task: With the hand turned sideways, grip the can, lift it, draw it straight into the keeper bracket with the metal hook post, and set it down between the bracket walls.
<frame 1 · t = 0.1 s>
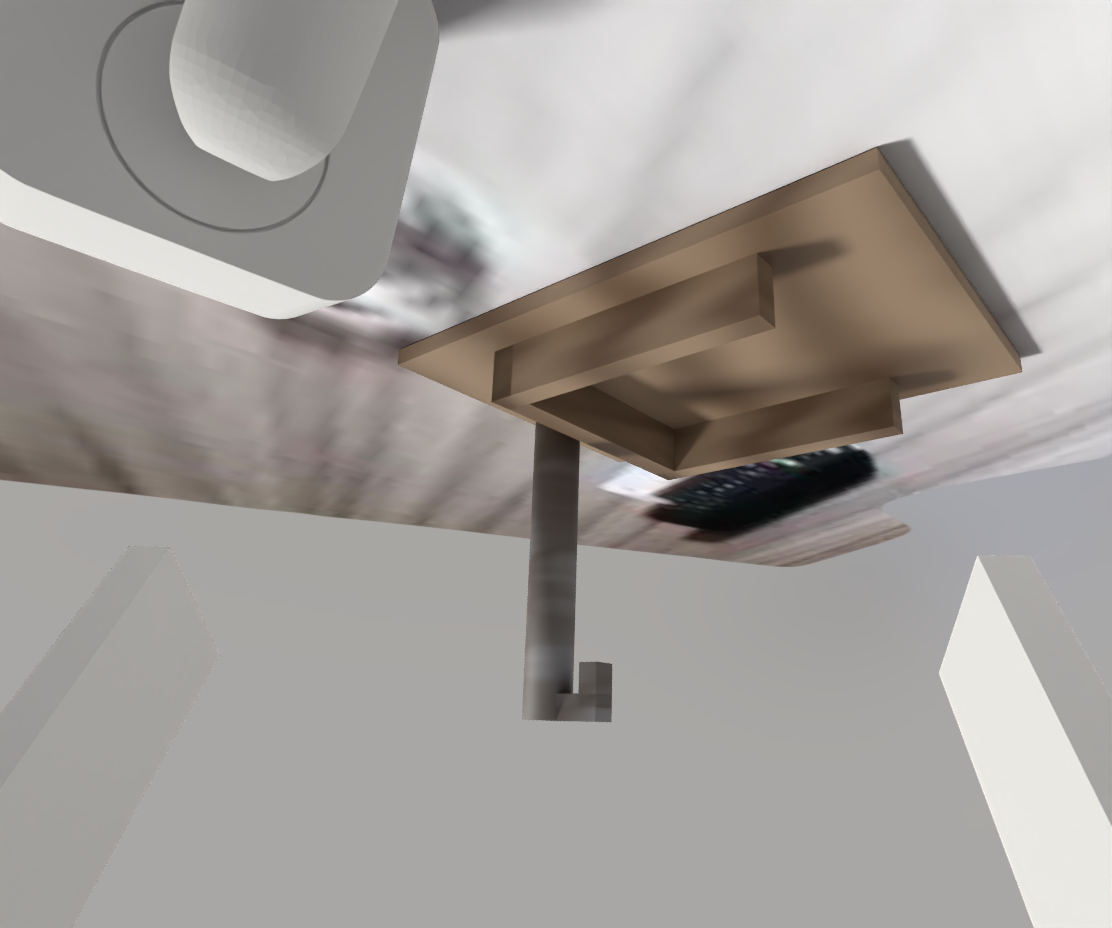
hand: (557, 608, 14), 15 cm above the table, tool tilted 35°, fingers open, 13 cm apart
keeper: (712, 350, 38), on the table
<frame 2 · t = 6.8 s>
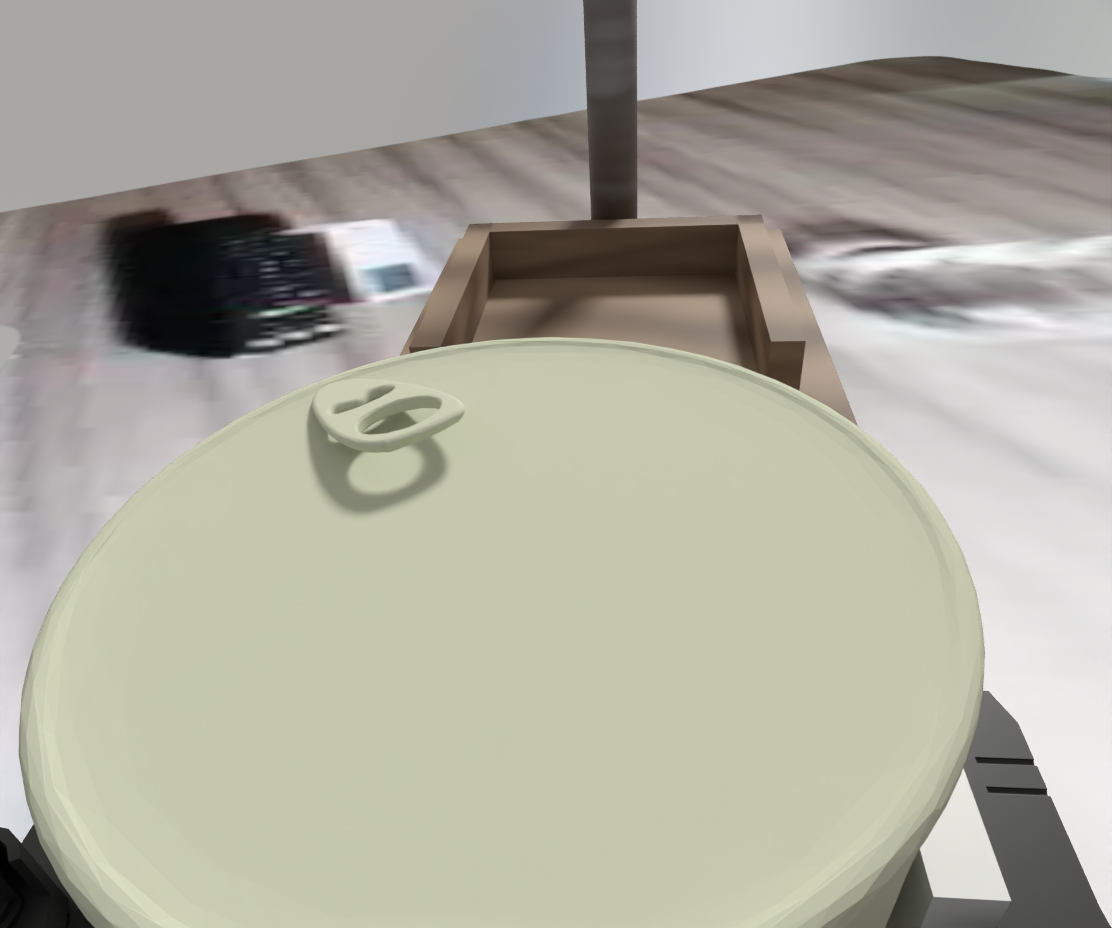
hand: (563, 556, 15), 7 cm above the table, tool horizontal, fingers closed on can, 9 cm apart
keeper: (609, 347, 36), on the table
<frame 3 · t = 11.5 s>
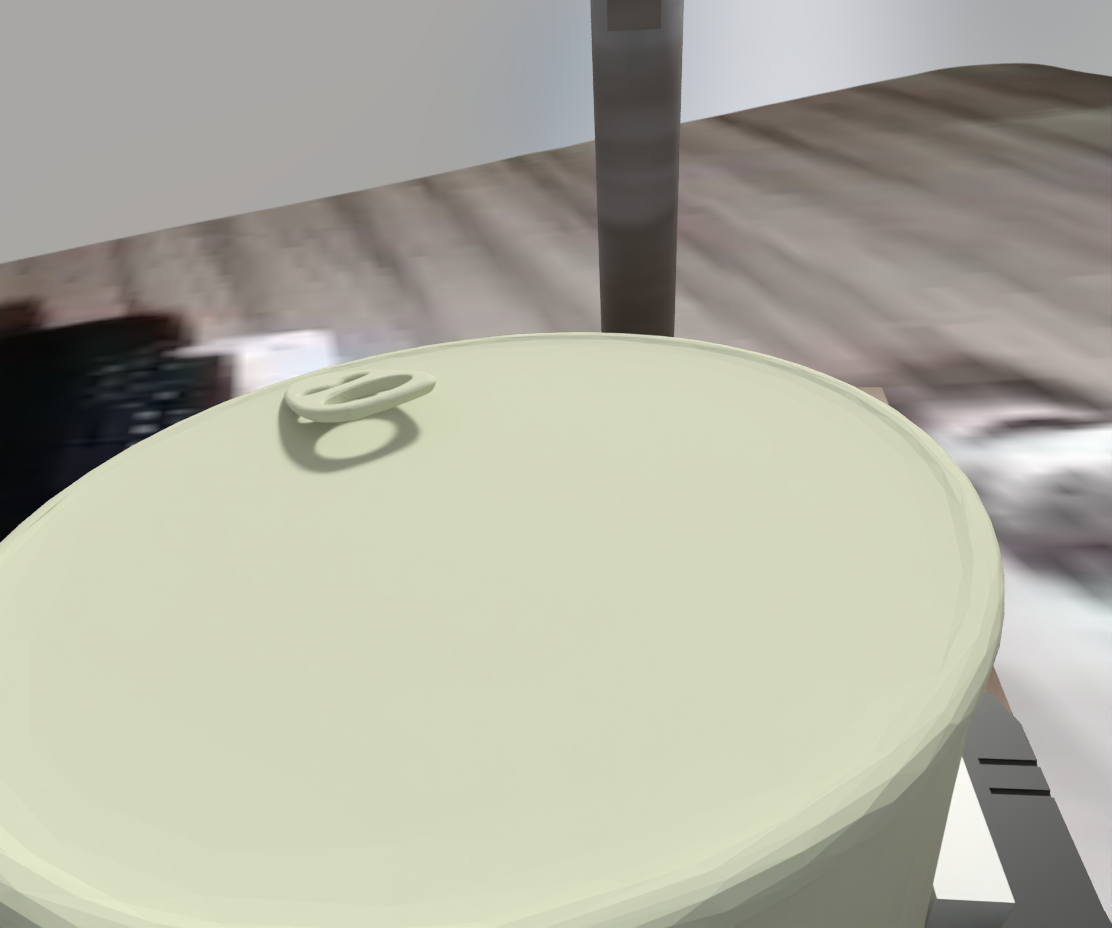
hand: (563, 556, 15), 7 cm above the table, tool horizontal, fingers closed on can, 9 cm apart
keeper: (631, 649, 22), on the table
when the fingers open (9 cm above the table, at t = 13.8 s): can drops 3 cm, resting on keeper.
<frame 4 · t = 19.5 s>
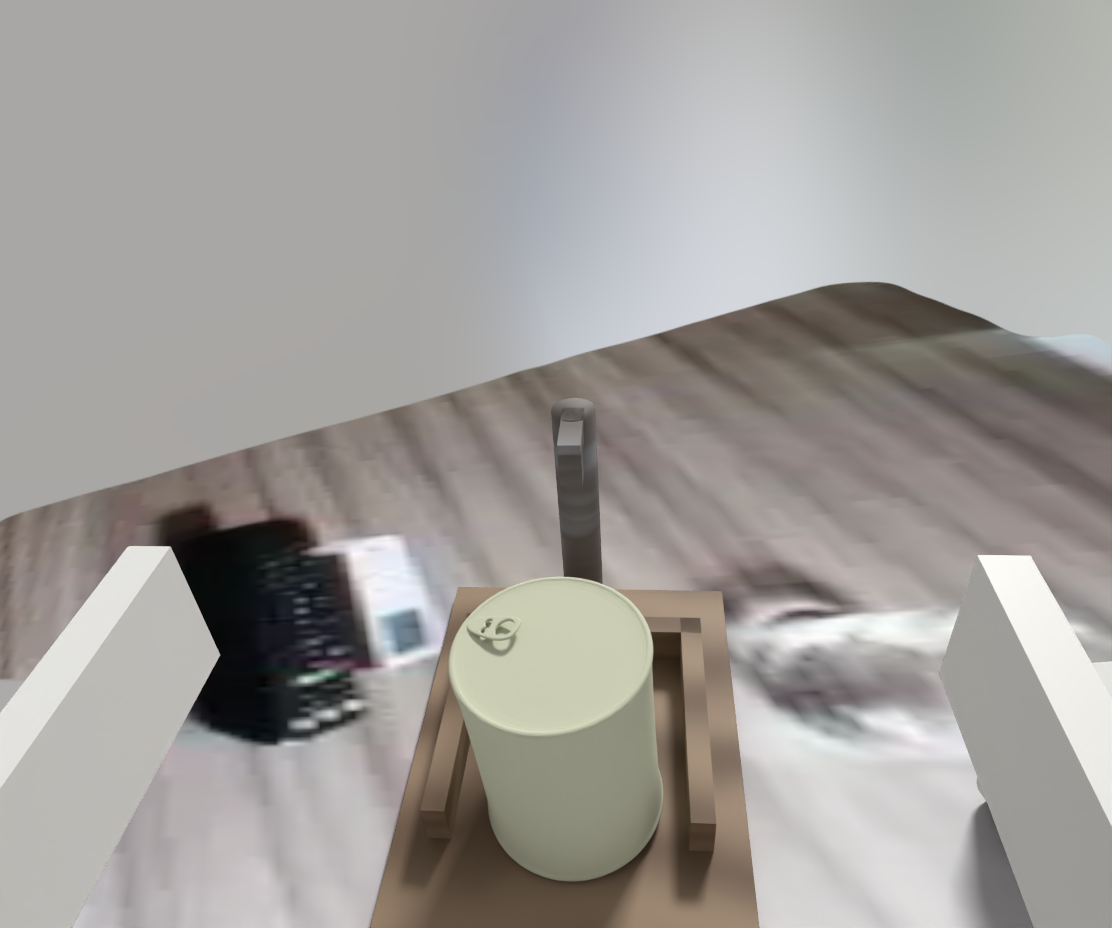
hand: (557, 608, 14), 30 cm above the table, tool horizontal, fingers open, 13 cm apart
keeper: (576, 749, 46), on the table
can: (575, 796, 42), point 1 cm above the table, touching keeper
wall hook: (1095, 874, 39), on the table
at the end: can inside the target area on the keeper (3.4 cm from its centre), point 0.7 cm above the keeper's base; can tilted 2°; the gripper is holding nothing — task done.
